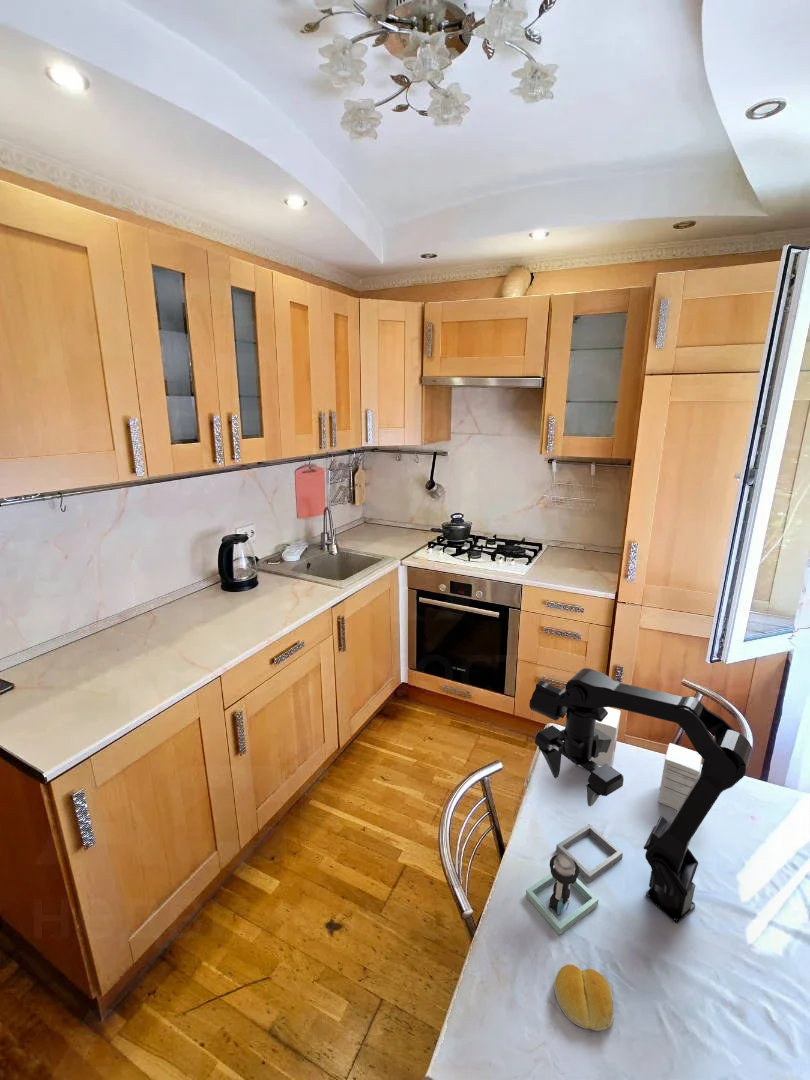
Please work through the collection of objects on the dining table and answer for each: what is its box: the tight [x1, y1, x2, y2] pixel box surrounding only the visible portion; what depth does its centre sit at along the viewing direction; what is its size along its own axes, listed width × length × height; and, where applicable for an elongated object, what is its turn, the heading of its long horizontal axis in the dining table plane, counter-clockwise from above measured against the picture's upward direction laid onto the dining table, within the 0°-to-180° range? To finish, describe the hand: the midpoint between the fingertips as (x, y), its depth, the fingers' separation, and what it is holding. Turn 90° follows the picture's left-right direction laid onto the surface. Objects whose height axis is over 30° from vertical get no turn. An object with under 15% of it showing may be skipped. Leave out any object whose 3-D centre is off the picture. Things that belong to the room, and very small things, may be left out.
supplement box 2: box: [658, 742, 703, 811], centre depth 117 cm, size 7×7×13 cm
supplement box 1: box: [574, 707, 622, 769], centre depth 130 cm, size 9×9×15 cm
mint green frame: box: [525, 872, 599, 936], centre depth 94 cm, size 9×11×2 cm
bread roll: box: [554, 964, 615, 1032], centre depth 78 cm, size 8×9×4 cm
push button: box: [548, 853, 580, 915], centre depth 93 cm, size 7×5×10 cm
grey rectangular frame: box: [555, 823, 624, 883], centre depth 104 cm, size 9×11×2 cm
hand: (572, 790), depth 104 cm, fingers open, 9 cm apart
